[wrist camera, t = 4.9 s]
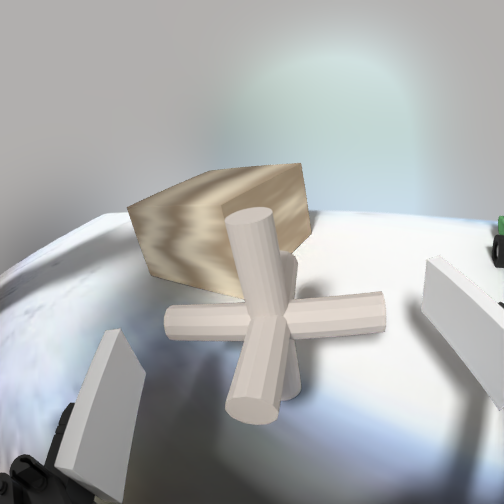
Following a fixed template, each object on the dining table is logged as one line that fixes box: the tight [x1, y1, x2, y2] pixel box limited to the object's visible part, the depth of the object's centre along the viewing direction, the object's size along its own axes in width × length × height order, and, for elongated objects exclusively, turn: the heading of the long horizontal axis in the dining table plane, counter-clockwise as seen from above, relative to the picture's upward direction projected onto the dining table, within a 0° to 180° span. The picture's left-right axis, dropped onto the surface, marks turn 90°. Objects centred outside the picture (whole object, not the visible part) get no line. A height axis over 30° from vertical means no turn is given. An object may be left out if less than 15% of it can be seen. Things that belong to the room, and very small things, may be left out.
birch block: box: [127, 163, 311, 299], centre depth 31 cm, size 13×13×8 cm
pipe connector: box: [164, 207, 386, 425], centre depth 13 cm, size 10×10×10 cm
